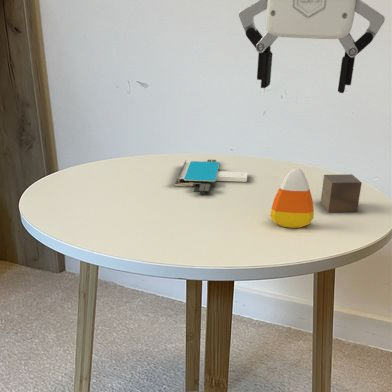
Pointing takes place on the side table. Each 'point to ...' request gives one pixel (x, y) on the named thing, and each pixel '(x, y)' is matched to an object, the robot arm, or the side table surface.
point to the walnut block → (340, 193)
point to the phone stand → (205, 175)
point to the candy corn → (293, 201)
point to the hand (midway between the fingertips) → (302, 89)
